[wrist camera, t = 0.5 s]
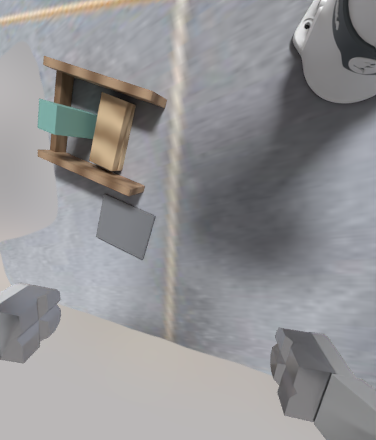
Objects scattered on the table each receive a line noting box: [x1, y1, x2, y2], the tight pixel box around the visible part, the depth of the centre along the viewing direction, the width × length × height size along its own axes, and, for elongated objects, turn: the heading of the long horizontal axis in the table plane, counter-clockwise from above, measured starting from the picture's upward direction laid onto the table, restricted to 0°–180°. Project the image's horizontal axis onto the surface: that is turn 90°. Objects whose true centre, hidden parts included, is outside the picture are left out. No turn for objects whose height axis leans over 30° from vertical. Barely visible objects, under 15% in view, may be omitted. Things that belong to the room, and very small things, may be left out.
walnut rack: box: [38, 56, 167, 196], centre depth 45 cm, size 24×20×6 cm
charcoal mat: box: [96, 194, 156, 259], centre depth 53 cm, size 12×14×1 cm
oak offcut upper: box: [89, 92, 133, 171], centre depth 45 cm, size 14×6×2 cm, turn 159°
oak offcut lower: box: [117, 103, 136, 171], centre depth 47 cm, size 14×6×2 cm, turn 161°
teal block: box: [38, 99, 98, 139], centre depth 44 cm, size 5×4×11 cm
